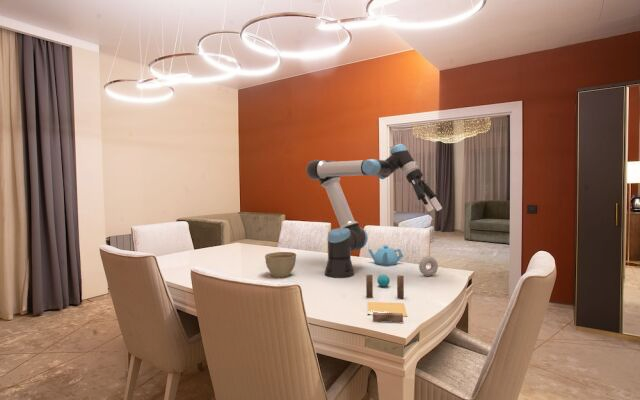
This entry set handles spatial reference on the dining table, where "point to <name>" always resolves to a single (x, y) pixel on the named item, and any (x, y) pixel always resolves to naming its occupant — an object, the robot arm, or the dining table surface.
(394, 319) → the brown rectangular bar
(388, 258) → the teapot
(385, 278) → the ball
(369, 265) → the dining table surface
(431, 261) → the donut
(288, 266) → the planter bowl
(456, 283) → the dining table surface
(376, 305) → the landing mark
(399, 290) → the right post
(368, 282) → the left post
